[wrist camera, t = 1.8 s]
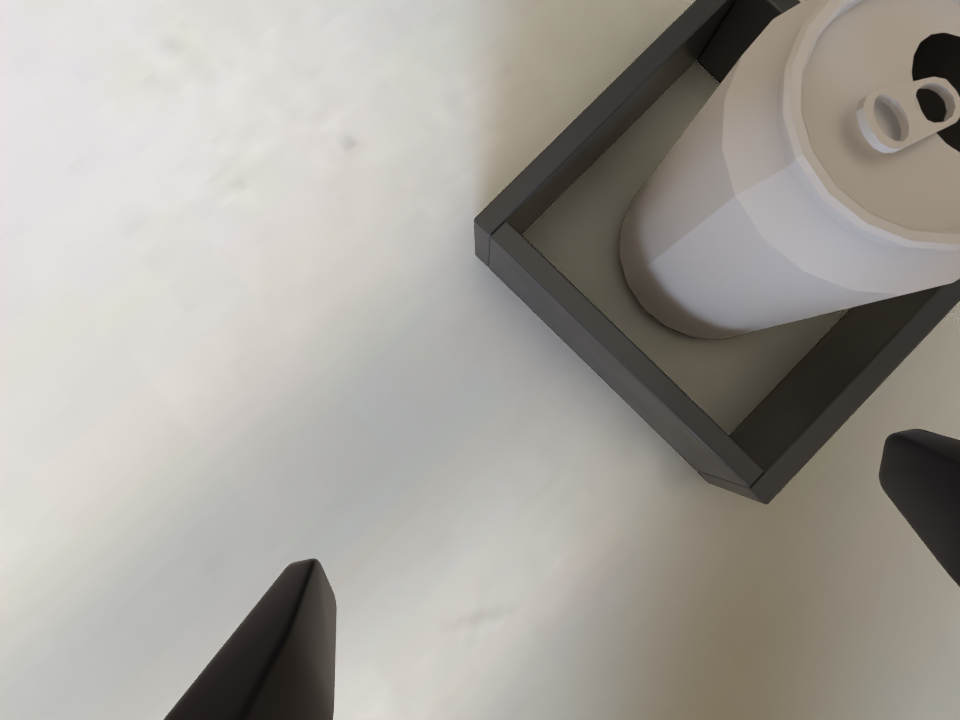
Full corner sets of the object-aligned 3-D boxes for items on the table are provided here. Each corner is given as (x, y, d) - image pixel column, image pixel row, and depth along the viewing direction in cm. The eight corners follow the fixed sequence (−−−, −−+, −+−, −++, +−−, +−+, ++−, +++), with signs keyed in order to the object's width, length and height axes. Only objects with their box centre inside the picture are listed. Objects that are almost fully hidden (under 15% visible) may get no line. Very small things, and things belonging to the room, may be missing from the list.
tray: (930, 252, 23) (1040, 217, 18) (709, 484, 22) (767, 506, 18) (695, 35, 24) (745, -50, 19) (474, 254, 23) (472, 219, 18)
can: (820, 301, 23) (1198, 193, 11) (656, 369, 23) (855, 336, 11) (746, 140, 23) (1029, -132, 11) (585, 206, 23) (699, -2, 11)
